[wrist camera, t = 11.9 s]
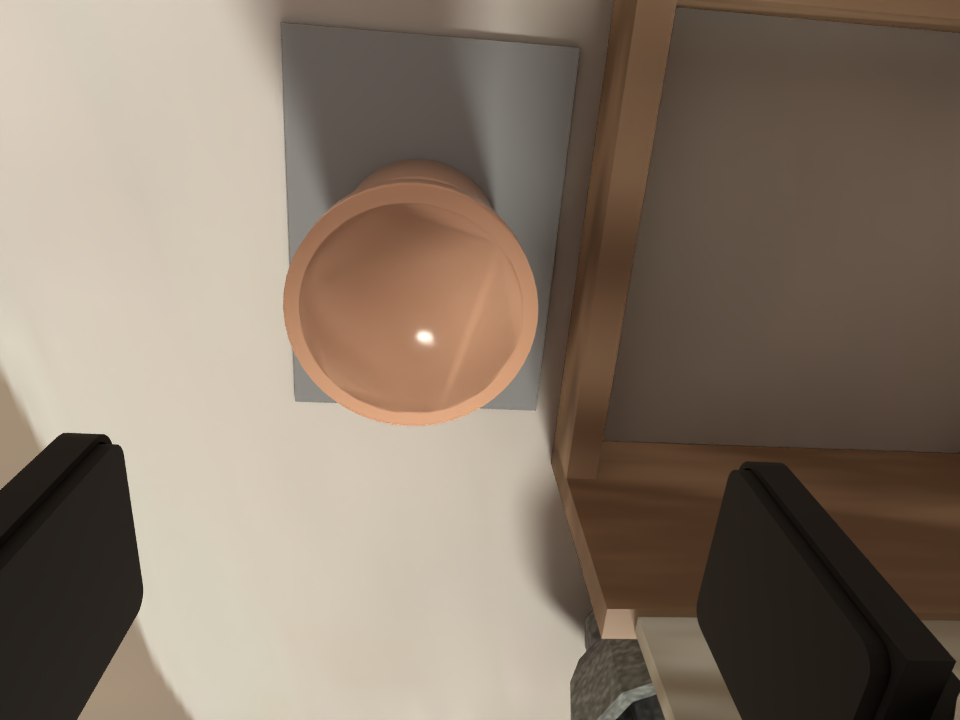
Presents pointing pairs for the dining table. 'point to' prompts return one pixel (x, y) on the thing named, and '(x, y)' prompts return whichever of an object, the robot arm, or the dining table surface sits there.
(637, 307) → the dining table surface
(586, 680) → the mortar and pestle
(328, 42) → the slate mat
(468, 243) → the terracotta pot
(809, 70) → the dining table surface
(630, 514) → the box
